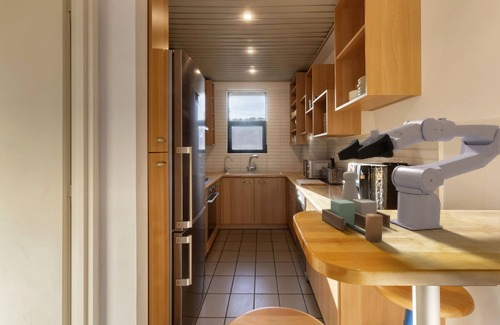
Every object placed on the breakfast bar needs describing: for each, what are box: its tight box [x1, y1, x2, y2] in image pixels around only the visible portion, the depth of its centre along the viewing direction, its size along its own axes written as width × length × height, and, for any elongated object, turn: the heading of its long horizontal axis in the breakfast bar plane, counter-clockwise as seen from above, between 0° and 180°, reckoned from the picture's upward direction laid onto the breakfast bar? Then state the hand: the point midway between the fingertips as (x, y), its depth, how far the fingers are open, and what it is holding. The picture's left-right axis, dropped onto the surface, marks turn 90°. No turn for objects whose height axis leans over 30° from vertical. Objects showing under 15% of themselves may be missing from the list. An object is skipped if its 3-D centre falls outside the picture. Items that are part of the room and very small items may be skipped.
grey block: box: [352, 198, 378, 216], centre depth 73 cm, size 4×4×6 cm
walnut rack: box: [321, 208, 391, 231], centre depth 72 cm, size 14×10×3 cm
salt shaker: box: [340, 171, 360, 202], centre depth 82 cm, size 6×6×13 cm
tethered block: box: [330, 199, 383, 243], centre depth 66 cm, size 4×17×6 cm, turn 12°
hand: (348, 155), depth 63 cm, fingers open, 7 cm apart
